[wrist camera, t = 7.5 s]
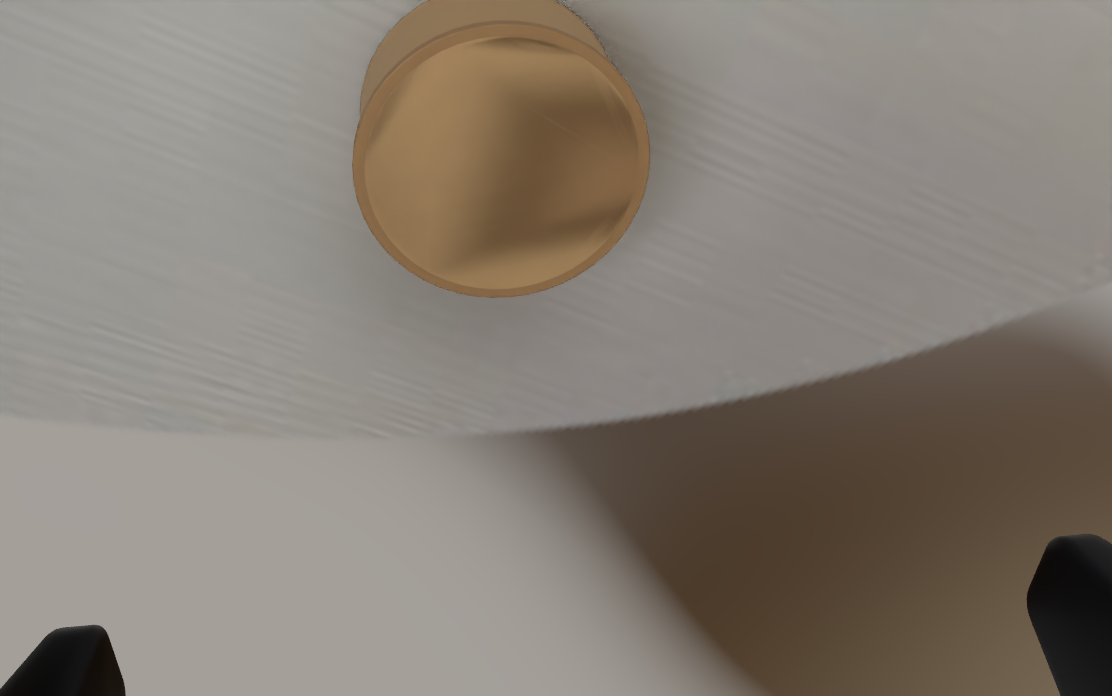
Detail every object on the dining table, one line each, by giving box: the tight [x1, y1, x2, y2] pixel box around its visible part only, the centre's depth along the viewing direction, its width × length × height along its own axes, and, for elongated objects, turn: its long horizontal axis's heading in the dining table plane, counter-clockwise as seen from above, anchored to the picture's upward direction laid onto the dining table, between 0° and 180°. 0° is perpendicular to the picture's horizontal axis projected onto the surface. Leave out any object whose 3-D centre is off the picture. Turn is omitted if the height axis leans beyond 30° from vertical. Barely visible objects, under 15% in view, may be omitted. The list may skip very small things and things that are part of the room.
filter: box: [352, 0, 650, 298], centre depth 18 cm, size 5×5×2 cm
